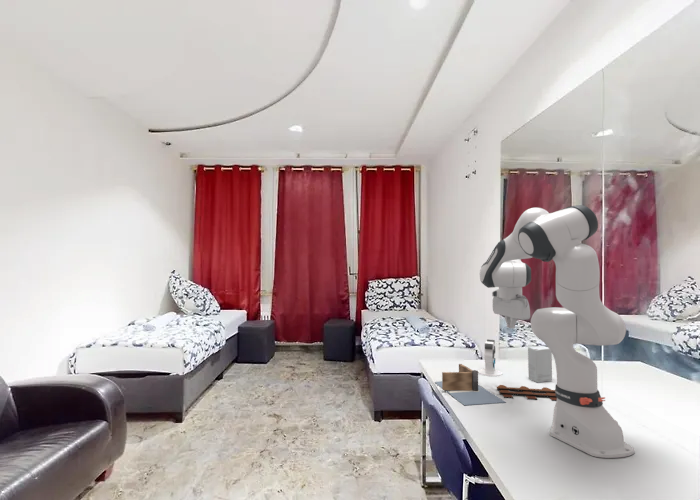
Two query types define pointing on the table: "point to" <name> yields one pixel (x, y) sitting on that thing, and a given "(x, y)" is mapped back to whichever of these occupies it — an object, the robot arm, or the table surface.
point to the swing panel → (456, 380)
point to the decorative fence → (527, 392)
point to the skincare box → (540, 364)
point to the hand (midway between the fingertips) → (510, 327)
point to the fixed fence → (474, 376)
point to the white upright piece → (489, 360)
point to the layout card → (473, 396)
